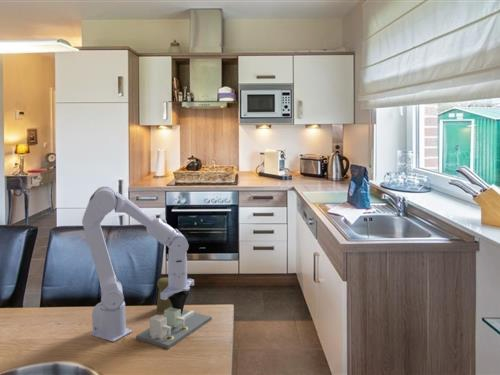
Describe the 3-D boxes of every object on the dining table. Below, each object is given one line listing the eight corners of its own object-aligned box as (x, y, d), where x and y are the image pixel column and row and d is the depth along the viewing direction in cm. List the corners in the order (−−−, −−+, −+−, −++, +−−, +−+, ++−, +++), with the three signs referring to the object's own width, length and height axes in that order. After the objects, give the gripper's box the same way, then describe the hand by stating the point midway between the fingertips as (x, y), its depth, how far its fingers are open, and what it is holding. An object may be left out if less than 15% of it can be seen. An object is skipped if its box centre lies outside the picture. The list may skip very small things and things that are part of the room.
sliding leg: (164, 325, 139) (164, 310, 139) (170, 321, 142) (170, 307, 141) (181, 329, 136) (181, 314, 136) (187, 326, 139) (187, 311, 138)
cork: (172, 313, 152) (172, 281, 150) (154, 313, 152) (154, 281, 150) (175, 306, 158) (175, 275, 156) (158, 306, 158) (157, 275, 156)
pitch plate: (136, 338, 133) (135, 318, 133) (181, 312, 153) (181, 294, 152) (168, 348, 128) (168, 327, 127) (211, 319, 147) (211, 301, 146)
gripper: (173, 281, 132) (174, 325, 133) (201, 267, 144) (202, 308, 146) (154, 277, 135) (155, 320, 137) (183, 264, 148) (184, 304, 149)
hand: (178, 314), depth 142 cm, fingers closed
